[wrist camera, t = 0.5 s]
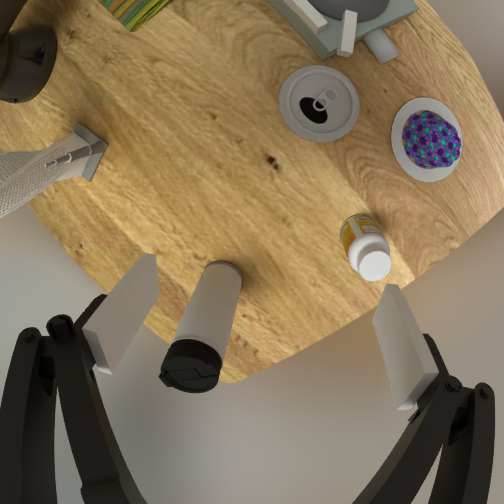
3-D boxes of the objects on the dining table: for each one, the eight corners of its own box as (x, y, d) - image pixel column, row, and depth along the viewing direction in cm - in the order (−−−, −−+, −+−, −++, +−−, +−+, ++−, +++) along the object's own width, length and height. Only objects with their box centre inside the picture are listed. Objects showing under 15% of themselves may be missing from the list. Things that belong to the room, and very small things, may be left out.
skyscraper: (87, 188, 40) (-49, 279, 15) (57, 162, 38) (-78, 232, 13) (108, 144, 36) (-56, 214, 12) (75, 119, 34) (-81, 167, 10)
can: (267, 106, 32) (259, 103, 22) (307, 66, 29) (319, 45, 19) (310, 146, 34) (323, 162, 24) (351, 107, 31) (381, 107, 21)
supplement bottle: (349, 255, 41) (363, 294, 32) (332, 226, 39) (345, 260, 30) (380, 238, 39) (403, 273, 30) (366, 207, 37) (388, 237, 28)
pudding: (373, 120, 32) (386, 122, 27) (437, 84, 27) (456, 83, 23) (412, 195, 35) (427, 207, 31) (469, 158, 31) (489, 166, 27)
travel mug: (194, 267, 44) (145, 364, 27) (232, 255, 43) (198, 357, 25) (211, 298, 47) (176, 398, 29) (248, 288, 45) (227, 395, 27)
